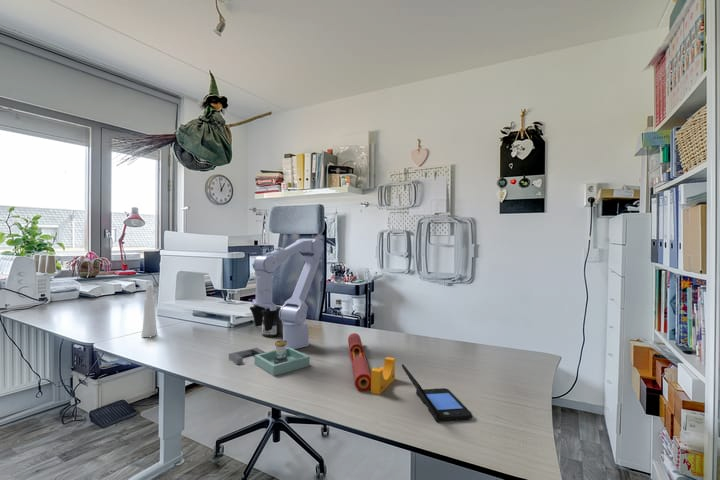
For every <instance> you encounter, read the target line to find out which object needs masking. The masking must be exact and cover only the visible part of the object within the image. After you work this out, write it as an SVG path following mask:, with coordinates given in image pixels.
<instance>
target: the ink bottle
mask: <svg viewBox="0 0 720 480" xmlns="http://www.w3.org/2000/svg"><path fill="white" fill-rule="evenodd" d="M281 307H282V306H278V305H276V310H278V313H277V315H276V317H275V319H274V323H273V326H272V330H268V331H266V330H265V325H264V318H263V322H262V326H261V335H262V336H263V337H267V338H275V337H280V336H283V323H282V321H281V320H280V318H279V311H280V309H281ZM265 310H267V309H266V308H265Z"/></svg>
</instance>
